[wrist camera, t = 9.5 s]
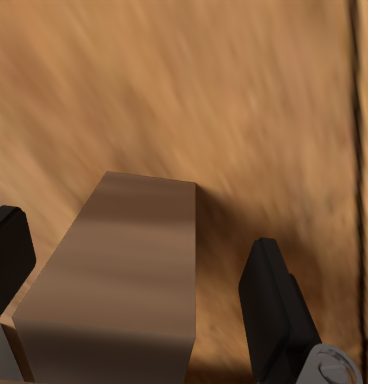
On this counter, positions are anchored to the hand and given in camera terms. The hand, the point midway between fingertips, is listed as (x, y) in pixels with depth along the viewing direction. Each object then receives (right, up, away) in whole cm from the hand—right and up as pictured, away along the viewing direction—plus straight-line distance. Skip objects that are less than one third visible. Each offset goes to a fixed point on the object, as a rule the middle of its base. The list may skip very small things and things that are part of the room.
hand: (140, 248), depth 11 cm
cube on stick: (-1, -5, +6) cm, 8 cm away
